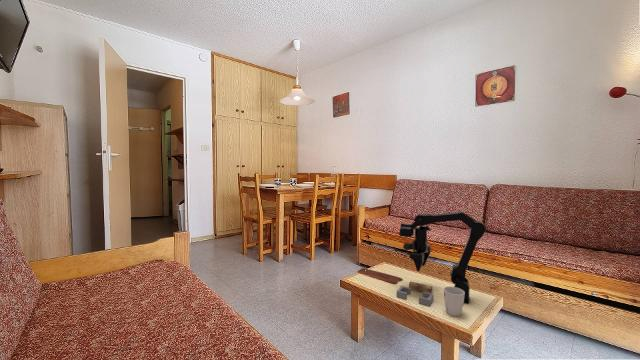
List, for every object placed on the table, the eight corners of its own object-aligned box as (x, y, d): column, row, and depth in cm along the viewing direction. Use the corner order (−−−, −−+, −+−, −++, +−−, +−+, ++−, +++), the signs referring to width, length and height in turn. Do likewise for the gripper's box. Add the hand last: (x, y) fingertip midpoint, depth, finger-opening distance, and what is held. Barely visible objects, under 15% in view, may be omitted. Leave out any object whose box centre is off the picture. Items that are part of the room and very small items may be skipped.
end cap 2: (433, 300, 127) (433, 294, 127) (429, 306, 121) (429, 300, 121) (423, 297, 130) (423, 291, 130) (418, 303, 124) (419, 297, 124)
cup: (448, 306, 122) (449, 284, 122) (467, 314, 116) (468, 291, 115) (439, 311, 117) (440, 289, 117) (458, 320, 111) (459, 296, 110)
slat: (432, 293, 136) (432, 286, 135) (431, 295, 133) (431, 288, 132) (410, 287, 141) (410, 281, 141) (408, 290, 139) (408, 283, 138)
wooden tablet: (403, 280, 152) (403, 277, 152) (395, 285, 144) (396, 282, 144) (363, 268, 169) (363, 265, 169) (354, 272, 162) (354, 270, 162)
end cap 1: (396, 296, 130) (396, 290, 130) (401, 291, 136) (401, 285, 136) (406, 299, 128) (406, 293, 128) (410, 294, 134) (410, 288, 134)
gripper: (410, 232, 149) (410, 260, 149) (399, 239, 134) (399, 270, 134) (431, 235, 142) (431, 264, 143) (422, 243, 127) (421, 275, 128)
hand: (420, 268), depth 137 cm, fingers open, 9 cm apart
